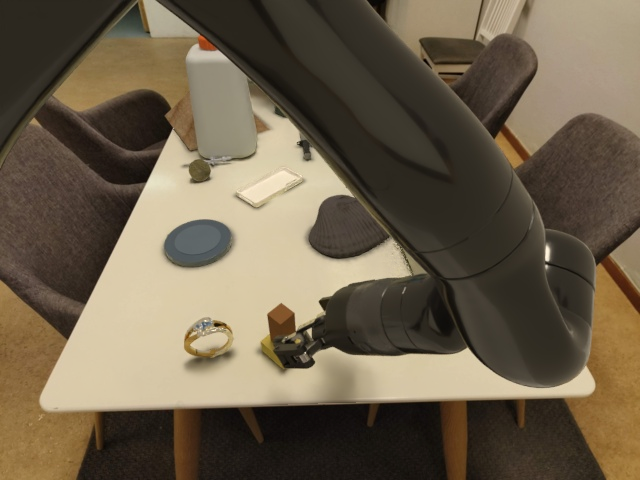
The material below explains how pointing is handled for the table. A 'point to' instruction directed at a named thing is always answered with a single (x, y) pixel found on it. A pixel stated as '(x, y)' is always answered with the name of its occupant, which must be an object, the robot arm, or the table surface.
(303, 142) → the knife
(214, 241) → the plate
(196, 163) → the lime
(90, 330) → the table surface
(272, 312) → the sponge brush
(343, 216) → the seashell
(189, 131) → the pyramid
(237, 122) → the plastic bottle
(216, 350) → the ring
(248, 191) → the phone case
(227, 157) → the syringe
